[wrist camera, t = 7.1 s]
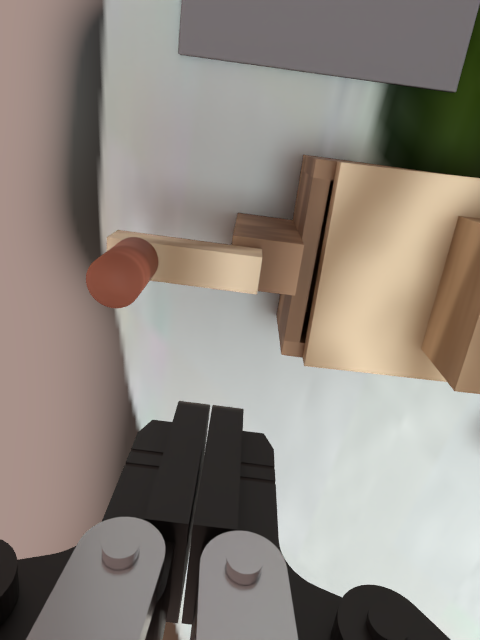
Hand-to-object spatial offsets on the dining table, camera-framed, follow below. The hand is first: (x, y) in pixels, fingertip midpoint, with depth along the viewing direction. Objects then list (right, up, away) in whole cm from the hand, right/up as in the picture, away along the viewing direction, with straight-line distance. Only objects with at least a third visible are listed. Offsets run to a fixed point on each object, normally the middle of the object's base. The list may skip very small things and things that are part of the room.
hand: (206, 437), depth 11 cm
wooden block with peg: (-2, +6, +15) cm, 16 cm away
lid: (+13, +5, +17) cm, 22 cm away
